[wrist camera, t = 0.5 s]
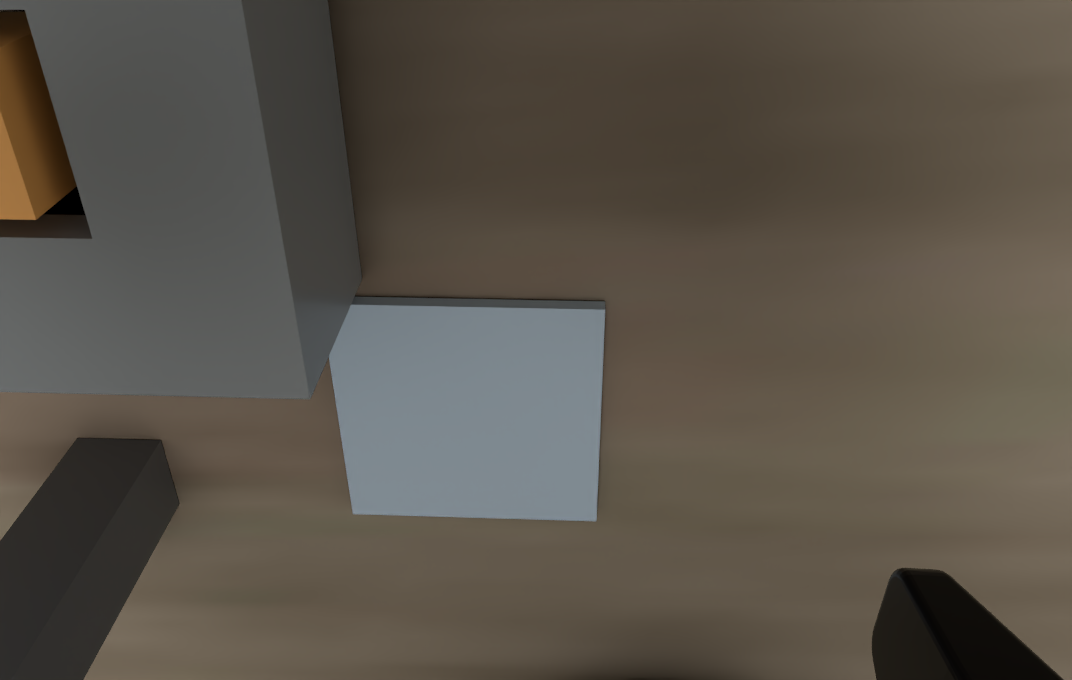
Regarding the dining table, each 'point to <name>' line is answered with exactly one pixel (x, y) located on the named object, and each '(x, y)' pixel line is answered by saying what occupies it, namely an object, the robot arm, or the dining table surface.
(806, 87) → the dining table surface
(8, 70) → the plunger
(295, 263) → the breaker housing
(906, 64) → the dining table surface
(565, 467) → the pad
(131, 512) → the dark gray rectangular block
